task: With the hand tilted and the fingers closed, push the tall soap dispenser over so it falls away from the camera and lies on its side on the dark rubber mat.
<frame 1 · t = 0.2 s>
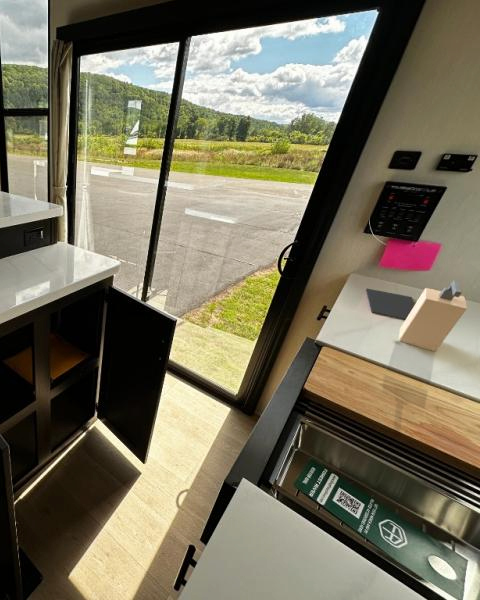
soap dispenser: (416, 343, 102), on the countertop
mat: (392, 305, 121), on the countertop
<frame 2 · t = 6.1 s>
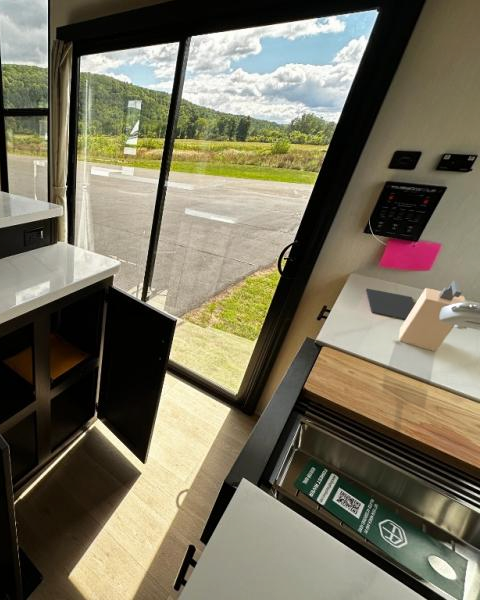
nothing on the countertop moved.
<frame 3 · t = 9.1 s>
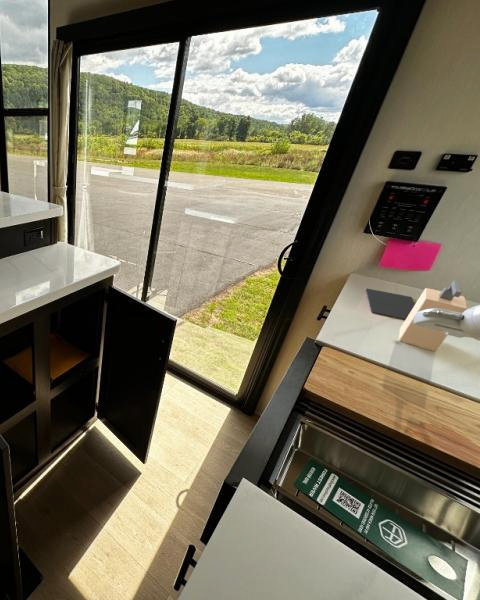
hand: (453, 333, 86), 13 cm above the countertop, tool tilted 45°, fingers closed
nothing on the countertop moved.
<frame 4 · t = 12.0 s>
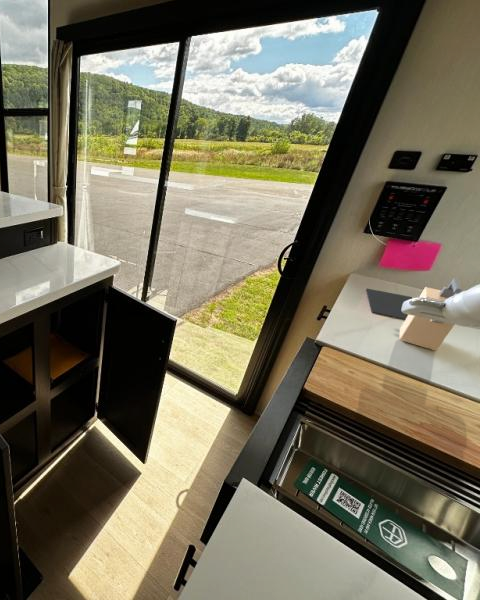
hand: (437, 320, 95), 11 cm above the countertop, tool tilted 45°, fingers closed
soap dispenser: (416, 342, 102), on the countertop, touching gripper
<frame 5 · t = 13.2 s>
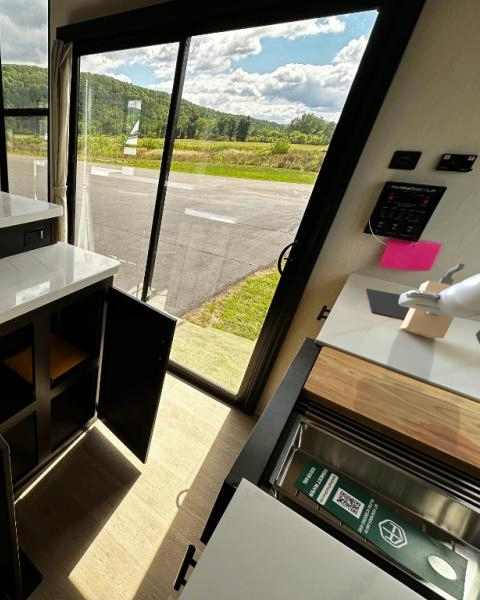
hand: (432, 312, 98), 10 cm above the countertop, tool tilted 45°, fingers closed
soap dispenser: (422, 333, 101), point 3 cm above the countertop
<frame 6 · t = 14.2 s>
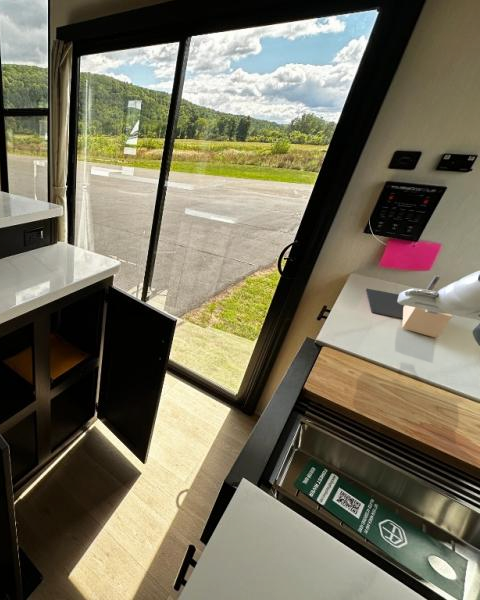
hand: (431, 310, 99), 10 cm above the countertop, tool tilted 45°, fingers closed
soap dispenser: (429, 317, 102), point 7 cm above the countertop, touching mat
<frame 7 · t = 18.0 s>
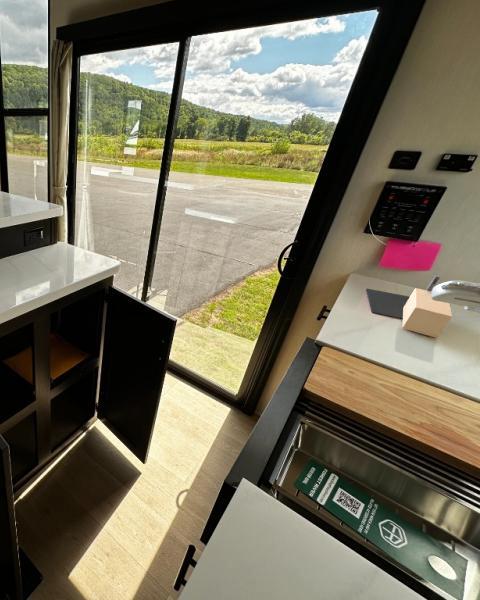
hand: (472, 308, 81), 21 cm above the countertop, tool tilted 45°, fingers closed
nothing on the countertop moved.
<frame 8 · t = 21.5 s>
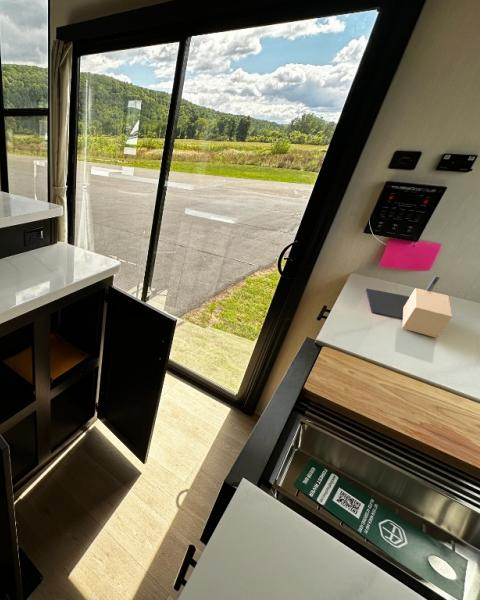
nothing on the countertop moved.
at the end: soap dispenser tilted 90°; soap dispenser touching mat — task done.
